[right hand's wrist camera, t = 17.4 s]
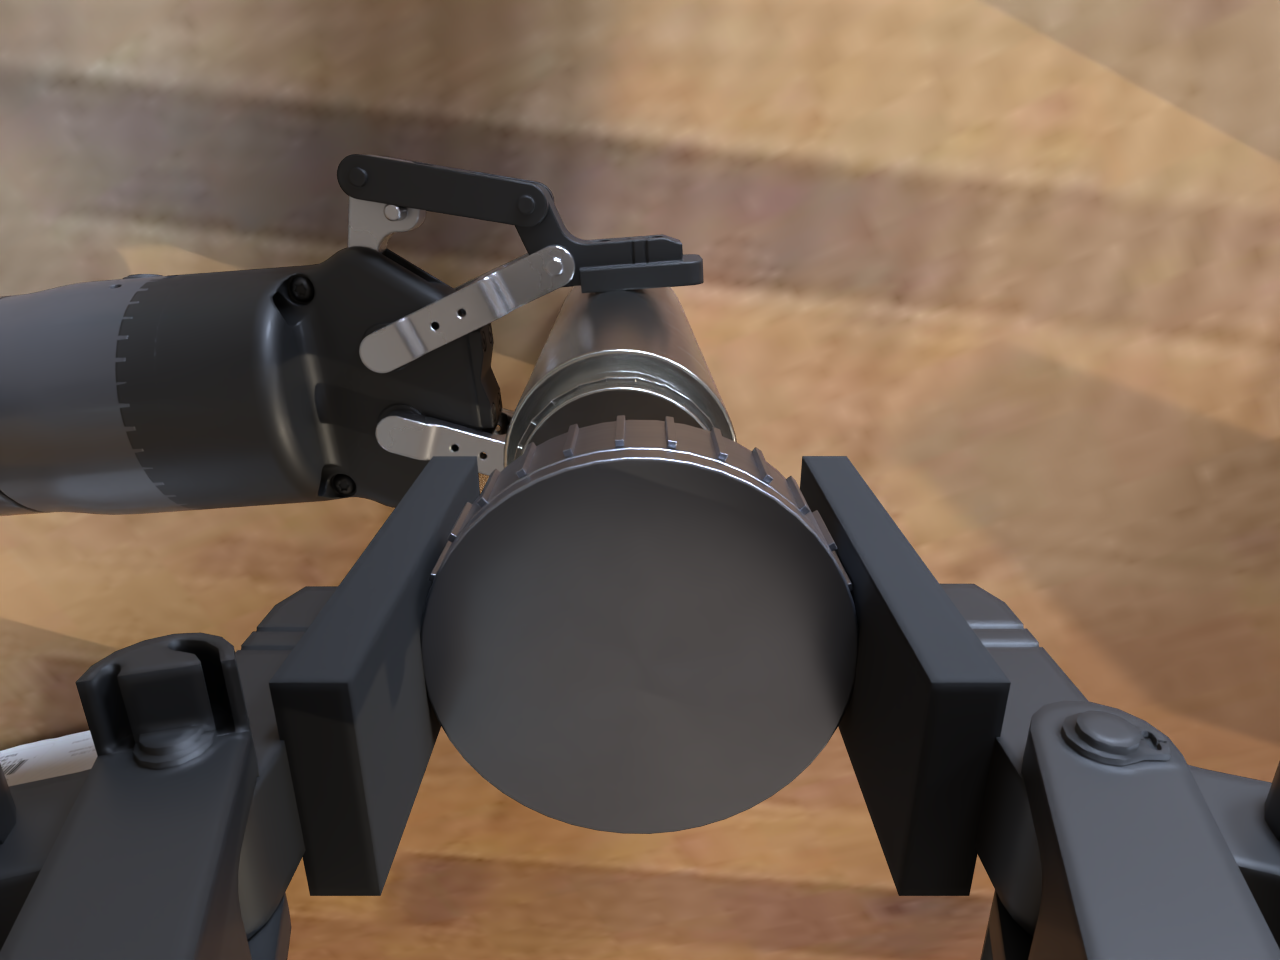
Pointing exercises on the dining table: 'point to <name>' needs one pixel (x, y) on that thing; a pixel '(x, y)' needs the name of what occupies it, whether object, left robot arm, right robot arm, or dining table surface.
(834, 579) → the lid
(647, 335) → the grey metal cylinder
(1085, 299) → the dining table surface
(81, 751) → the hard drive box
